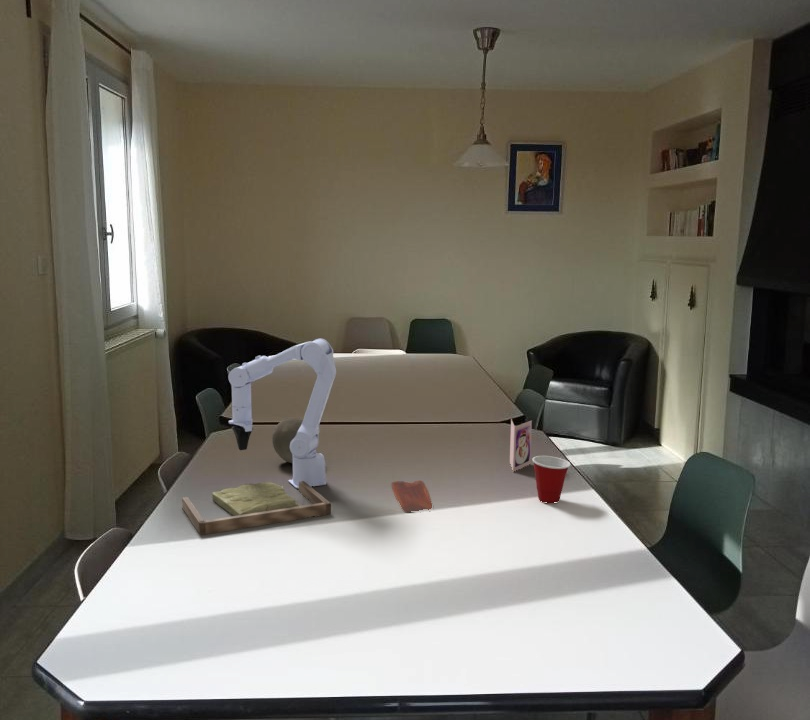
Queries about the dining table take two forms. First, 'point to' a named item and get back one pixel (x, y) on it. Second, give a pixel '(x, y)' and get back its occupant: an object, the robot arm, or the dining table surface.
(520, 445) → the greeting card
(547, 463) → the plastic cup
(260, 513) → the frame
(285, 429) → the cantaloupe
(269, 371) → the robot arm
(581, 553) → the dining table surface
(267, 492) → the decorative tile
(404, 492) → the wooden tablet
